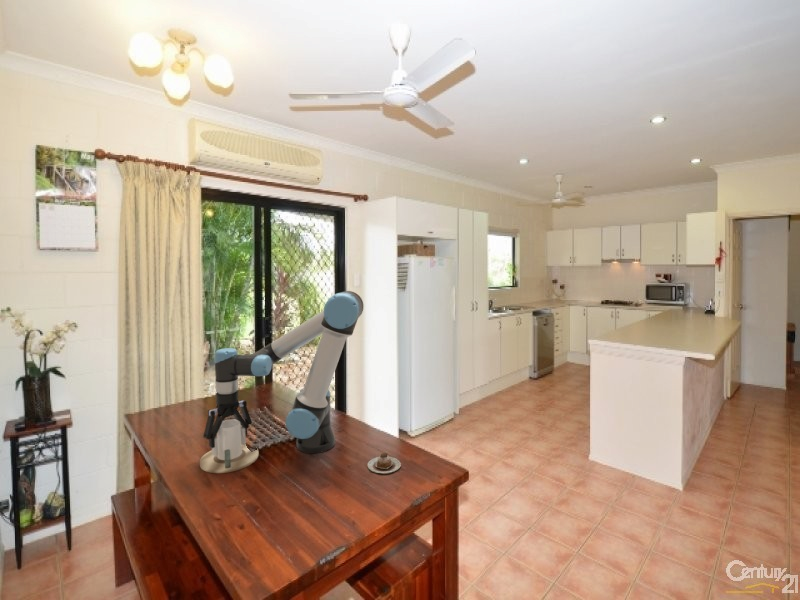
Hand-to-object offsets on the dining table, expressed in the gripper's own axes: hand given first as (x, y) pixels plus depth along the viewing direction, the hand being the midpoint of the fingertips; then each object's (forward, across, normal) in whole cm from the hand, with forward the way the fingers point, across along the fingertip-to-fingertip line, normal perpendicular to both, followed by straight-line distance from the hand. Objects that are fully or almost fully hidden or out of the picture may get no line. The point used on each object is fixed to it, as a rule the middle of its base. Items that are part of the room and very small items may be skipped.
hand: (229, 449), depth 145 cm
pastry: (+4, -30, +49) cm, 58 cm away
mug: (+3, +1, 0) cm, 3 cm away
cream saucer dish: (+4, 0, 0) cm, 4 cm away
